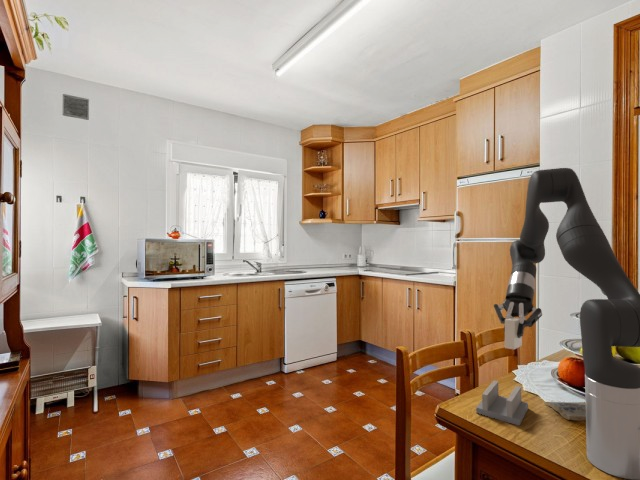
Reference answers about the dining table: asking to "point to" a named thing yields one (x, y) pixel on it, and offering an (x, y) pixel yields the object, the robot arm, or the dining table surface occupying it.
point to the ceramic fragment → (570, 409)
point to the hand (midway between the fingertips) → (512, 335)
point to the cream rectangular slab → (512, 334)
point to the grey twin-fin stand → (502, 405)
